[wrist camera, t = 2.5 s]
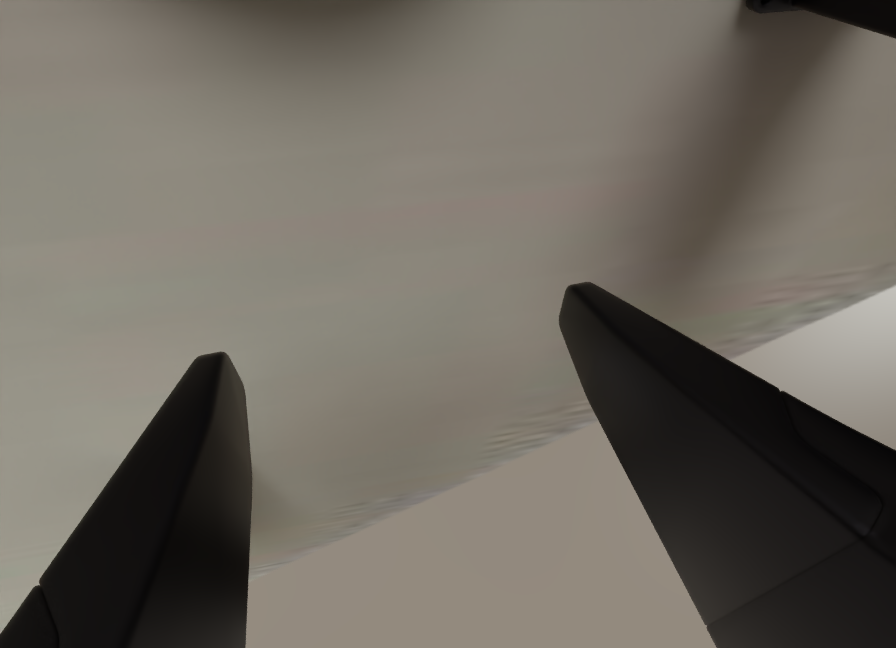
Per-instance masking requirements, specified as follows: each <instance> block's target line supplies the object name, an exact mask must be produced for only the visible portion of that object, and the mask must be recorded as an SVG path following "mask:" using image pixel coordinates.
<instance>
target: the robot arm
mask: <svg viewBox="0 0 896 648" xmlns="http://www.w3.org/2000/svg"><path fill="white" fill-rule="evenodd" d="M746 6H747V8H748V9H749V10H751V11H754V12H757V13H770V12H783V11H796V10H806V11H809V12H812V13H816V14H819V15H822V16H825V17H828V18H832V19H835V20H838V21H841V22H844V23H848V24H851V25H854V26H857V27H860V28H864V29H867V30H870V31H873V32H876V33H880V34H883V35H886V36H889V37H892V38H896V0H746ZM559 325H560V329H561V332H562V335H563V337H564V340H565V342H566V345H567V348H568V350H569V353H570V356H571V358H572V361H573V363H574V366H575V369H576V371H577V374H578V376H579V379H580V382H581V384H582V387H583V389H584V392H585V394H586V396H587V399H588V401H589V403H590V405H591V407H592V409H593V411H594V413H595V415H596V416H597V418H598V420H599V422H600V424H601V426H602V428H603V430H604V432H605V434H606V435H607V438H608V440H609V441H610V443H611V445H612V447H613V449H614V451H615V453H616V455H617V457H618V459H619V461H620V463H621V464H622V466H623V468H624V470H625V472H626V474H627V476H628V478H629V480H630V481H631V484H632V485H633V487H634V489H635V491H636V493H637V495H638V497H639V499H640V501H641V502H642V505H643V507H644V509H645V510H646V512H647V514H648V516H649V518H650V520H651V522H652V523H653V526H654V528H655V530H656V532H657V533H658V535H659V537H660V539H661V541H662V543H663V545H664V547H665V549H666V551H667V553H668V555H669V556H670V558H671V560H672V562H673V564H674V566H675V568H676V570H677V572H678V574H679V576H680V578H681V579H682V581H683V583H684V585H685V587H686V589H687V591H688V593H689V595H690V597H691V599H692V601H693V602H694V604H695V606H696V608H697V610H698V612H699V614H700V616H701V618H702V620H703V622H704V624H705V625H707V630H708V632H709V634H710V636H711V638H712V640H713V642H714V643H715V645H716V647H717V648H896V450H894V449H892V448H890V447H888V446H886V445H884V444H882V443H880V442H878V441H876V440H874V439H872V438H870V437H868V436H866V435H864V434H862V433H860V432H858V431H856V430H854V429H852V428H850V427H848V426H846V425H844V424H842V423H841V422H839V421H837V420H835V419H833V418H831V417H830V416H828V415H826V414H824V413H822V412H820V411H818V410H817V409H815V408H813V407H811V406H809V405H807V404H806V403H804V402H802V401H800V400H798V399H797V398H795V397H793V396H791V395H790V394H788V393H786V392H784V391H781V392H780V390H779V389H778V388H777V387H775V386H774V385H772V384H770V383H768V382H767V381H765V380H763V379H761V378H759V377H757V376H756V375H754V374H752V373H751V372H749V371H747V370H745V369H744V368H742V367H740V366H738V365H736V364H734V363H733V362H731V361H729V360H728V359H726V358H724V357H722V356H721V355H719V354H717V353H715V352H713V351H712V350H710V349H708V348H706V347H705V346H703V345H701V344H699V343H698V342H696V341H694V340H692V339H691V338H689V337H687V336H685V335H683V334H682V333H680V332H678V331H676V330H675V329H673V328H671V327H669V326H668V325H666V324H664V323H662V322H660V321H659V320H657V319H655V318H653V317H652V316H650V315H648V314H646V313H645V312H643V311H641V310H639V309H637V308H636V307H634V306H632V305H630V304H629V303H627V302H625V301H623V300H622V299H620V298H618V297H616V296H614V295H613V294H611V293H609V292H607V291H606V290H604V289H602V288H600V287H599V286H597V285H595V284H593V283H591V282H584V283H578V284H573V285H570V286H568V287H567V289H566V291H565V295H564V299H563V303H562V307H561V311H560V315H559ZM251 506H252V467H251V454H250V443H249V431H248V419H247V408H246V396H245V390H244V386H243V383H242V381H241V379H240V377H239V375H238V373H237V371H236V369H235V367H234V365H233V363H232V361H231V359H230V358H229V356H228V355H227V354H226V353H225V352H216V353H211V354H206V355H201V356H199V357H197V358H196V359H195V360H194V361H193V363H192V364H191V365H190V367H189V368H188V370H187V371H186V373H185V374H184V375H183V377H182V378H181V380H180V381H179V382H178V384H177V385H176V387H175V388H174V390H173V391H172V392H171V394H170V395H169V397H168V398H167V399H166V401H165V402H164V404H163V405H162V407H161V408H160V409H159V411H158V412H157V414H156V415H155V416H154V418H153V419H152V421H151V422H150V424H149V425H148V426H147V428H146V429H145V431H144V432H143V433H142V435H141V436H140V438H139V439H138V441H137V442H136V443H135V445H134V446H133V448H132V449H131V450H130V452H129V453H128V455H127V456H126V458H125V459H124V460H123V462H122V463H121V465H120V466H119V467H118V469H117V470H116V472H115V473H114V475H113V476H112V477H111V479H110V480H109V482H108V483H107V484H106V486H105V487H104V489H103V490H102V492H101V493H100V494H99V496H98V497H97V499H96V500H95V501H94V503H93V504H92V506H91V507H90V509H89V510H88V511H87V513H86V514H85V516H84V517H83V518H82V520H81V521H80V523H79V524H78V526H77V527H76V528H75V530H74V531H73V533H72V534H71V535H70V537H69V538H68V540H67V541H66V543H65V544H64V545H63V547H62V548H61V550H60V551H59V552H58V554H57V555H56V557H55V558H54V560H53V561H52V562H51V564H50V565H49V567H48V568H47V569H46V571H45V572H44V574H43V575H42V577H41V578H40V580H39V583H40V585H38V586H35V587H34V588H33V589H32V590H31V592H30V593H29V595H28V596H27V597H26V599H25V600H24V602H23V603H22V604H21V606H20V607H19V609H18V610H17V612H16V613H15V614H14V616H13V617H12V619H11V620H10V621H9V623H8V624H7V626H6V627H5V628H4V630H3V631H2V632H1V634H0V648H245V645H246V621H247V598H248V576H249V553H250V529H251Z"/></svg>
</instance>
